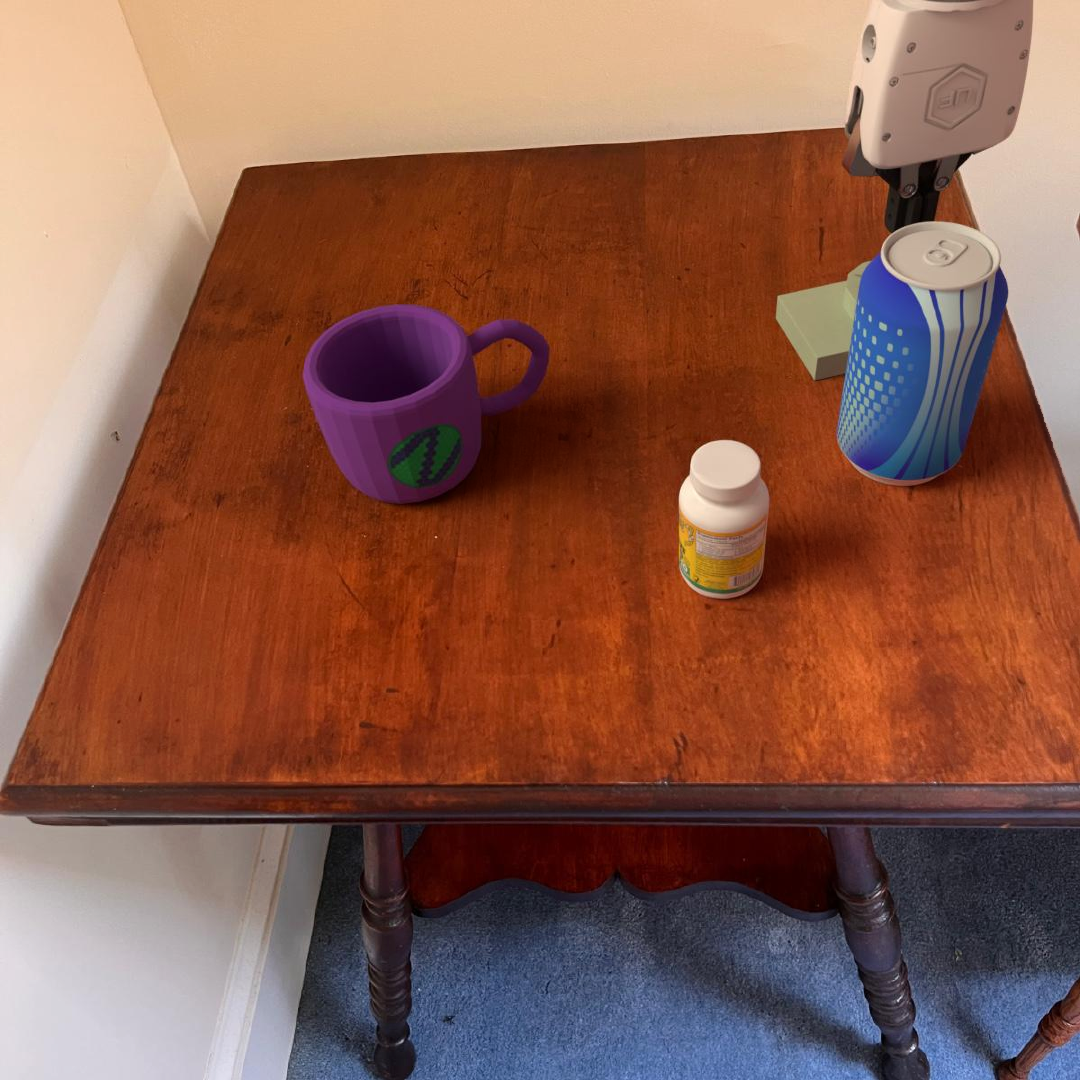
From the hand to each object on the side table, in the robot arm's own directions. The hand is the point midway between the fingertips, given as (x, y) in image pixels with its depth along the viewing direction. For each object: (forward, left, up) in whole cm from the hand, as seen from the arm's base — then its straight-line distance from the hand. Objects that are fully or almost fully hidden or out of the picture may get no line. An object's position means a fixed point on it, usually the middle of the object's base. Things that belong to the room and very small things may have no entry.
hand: (906, 235), depth 74 cm
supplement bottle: (+20, +19, -9) cm, 29 cm away
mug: (+35, +2, -9) cm, 36 cm away
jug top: (+2, 0, -8) cm, 9 cm away
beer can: (+5, +12, -9) cm, 16 cm away
